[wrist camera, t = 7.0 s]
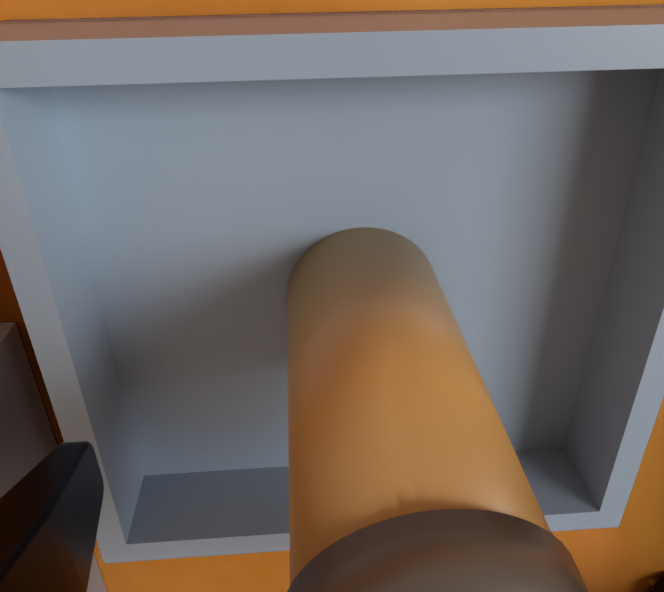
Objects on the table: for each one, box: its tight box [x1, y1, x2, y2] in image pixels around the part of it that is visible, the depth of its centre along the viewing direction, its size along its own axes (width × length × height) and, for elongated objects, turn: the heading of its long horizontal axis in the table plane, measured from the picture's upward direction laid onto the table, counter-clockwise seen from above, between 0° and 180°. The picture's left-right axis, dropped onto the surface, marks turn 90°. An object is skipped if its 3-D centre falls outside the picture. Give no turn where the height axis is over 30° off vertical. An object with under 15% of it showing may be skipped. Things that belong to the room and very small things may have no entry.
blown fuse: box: [286, 227, 588, 592], centre depth 9 cm, size 3×3×8 cm
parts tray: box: [0, 4, 664, 563], centre depth 12 cm, size 12×11×2 cm
